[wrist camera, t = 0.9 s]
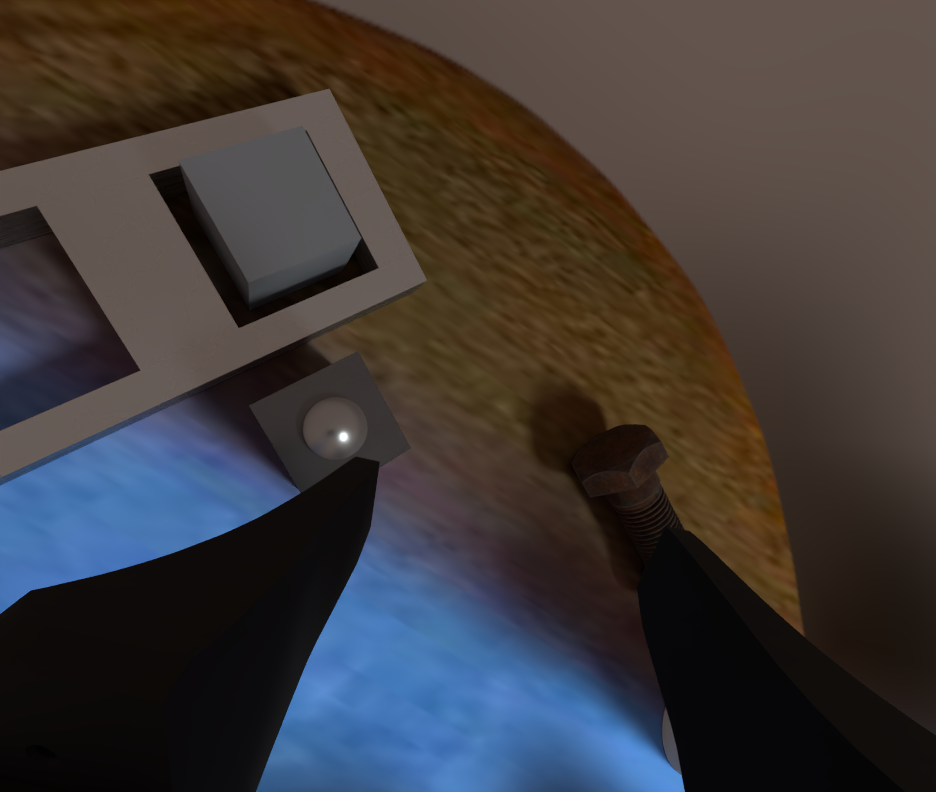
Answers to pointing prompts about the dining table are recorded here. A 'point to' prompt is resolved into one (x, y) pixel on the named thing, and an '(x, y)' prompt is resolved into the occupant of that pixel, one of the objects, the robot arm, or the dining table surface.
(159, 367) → the tray
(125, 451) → the dining table surface
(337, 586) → the robot arm
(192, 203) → the slate block
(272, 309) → the dining table surface
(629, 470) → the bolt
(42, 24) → the dining table surface
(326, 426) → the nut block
